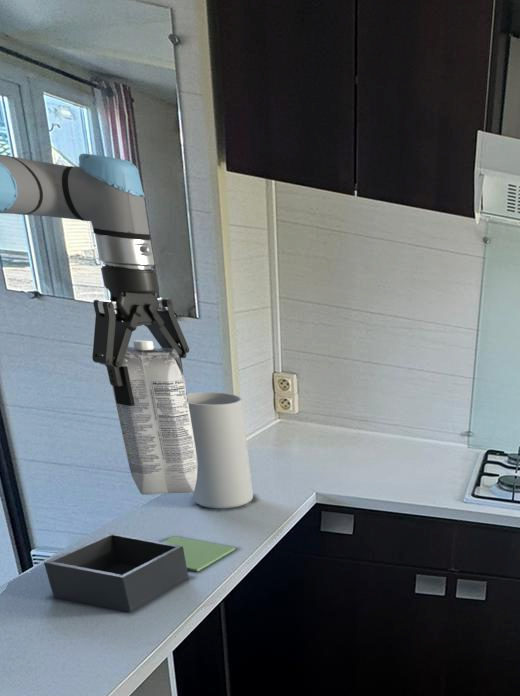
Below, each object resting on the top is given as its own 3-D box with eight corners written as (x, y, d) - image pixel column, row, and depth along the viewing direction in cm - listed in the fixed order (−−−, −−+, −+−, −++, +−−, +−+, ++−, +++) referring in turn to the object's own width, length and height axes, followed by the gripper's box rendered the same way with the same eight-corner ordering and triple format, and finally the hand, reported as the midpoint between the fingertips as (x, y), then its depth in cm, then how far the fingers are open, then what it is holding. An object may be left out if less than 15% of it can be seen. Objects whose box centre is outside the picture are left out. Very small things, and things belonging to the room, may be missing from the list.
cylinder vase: (226, 487, 161) (213, 389, 150) (265, 498, 158) (254, 399, 147) (182, 501, 150) (164, 397, 139) (222, 513, 147) (207, 407, 136)
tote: (53, 597, 109) (43, 562, 106) (119, 564, 121) (111, 532, 118) (130, 612, 108) (122, 577, 105) (188, 578, 120) (183, 546, 117)
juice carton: (200, 494, 120) (177, 348, 108) (133, 497, 114) (101, 344, 103) (201, 478, 126) (178, 339, 115) (137, 481, 121) (107, 336, 110)
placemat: (131, 559, 123) (131, 556, 123) (174, 538, 133) (173, 536, 133) (197, 571, 122) (197, 569, 122) (235, 549, 132) (234, 547, 132)
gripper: (86, 268, 93) (116, 414, 102) (200, 269, 114) (217, 390, 123) (40, 261, 93) (75, 407, 103) (162, 263, 114) (182, 385, 124)
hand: (152, 398), depth 113 cm, fingers closed on juice carton, 11 cm apart
